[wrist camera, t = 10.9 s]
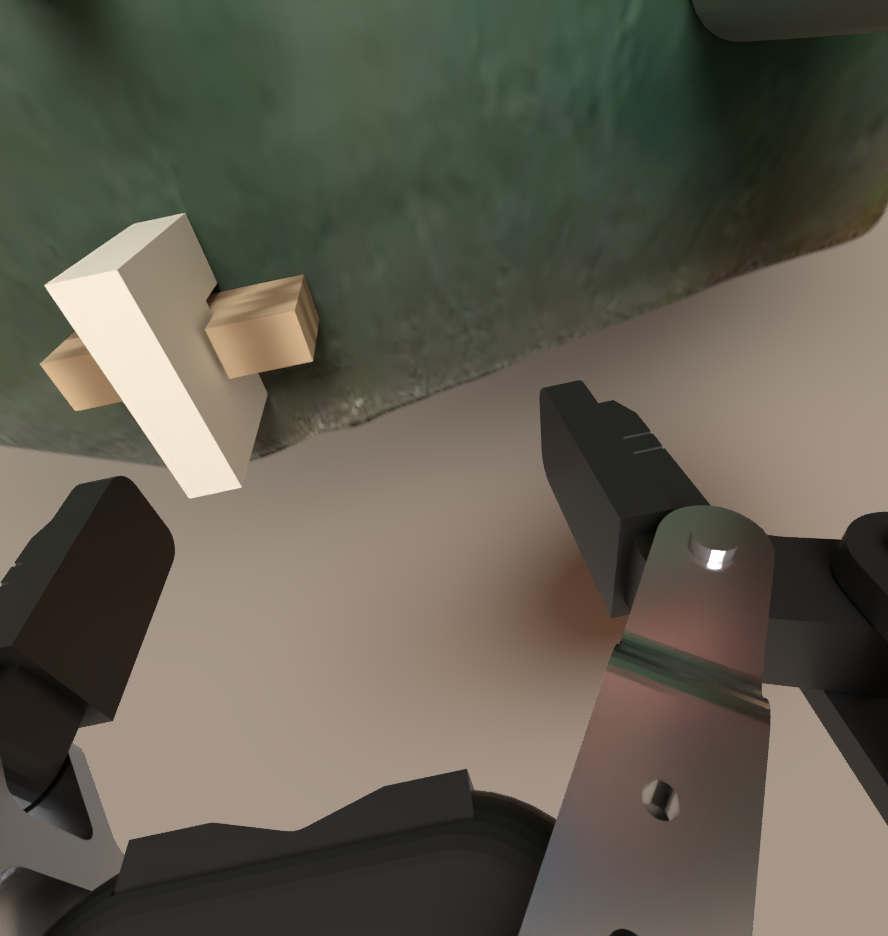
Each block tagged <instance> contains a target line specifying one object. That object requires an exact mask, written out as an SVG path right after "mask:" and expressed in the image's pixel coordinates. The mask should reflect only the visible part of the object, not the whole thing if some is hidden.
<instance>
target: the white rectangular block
mask: <svg viewBox="0 0 888 936" xmlns="http://www.w3.org/2000/svg"><path fill="white" fill-rule="evenodd" d="M216 284H217V281H216V279H215V277H214V275H213V272H212V270H211V268H210V266H209V264H208V261H207V259H206V257H205V255H204V253H203V250H202V248H201V246H200V244H199V242H198V239H197V237H196V235H195V233H194V231H193V228H192V226H191V224H190V222H189V220H188V217H187V215H186V213H182V214H177V215H173V216H168V217H163V218H159V219H154V220H149V221H145V222H140V223H135V224H132V225H131V226H130V227H128V228H127V229H125V230H124V231H122V232H121V233H119V234H118V235H116V236H115V237H114V238H112V239H111V240H109V241H108V242H106V243H105V244H103V245H102V246H100V247H99V248H98V249H96V250H95V251H93V252H92V253H90V254H89V255H87V256H86V257H85V258H83V259H82V260H80V261H79V262H77V263H76V264H74V265H73V266H71V267H70V268H69V269H67V270H66V271H64V272H63V273H61V274H60V275H58V276H57V277H56V278H54V279H53V280H51V281H50V282H48V283H47V284H45V285H44V286H45V287H46V289H47V290H48V292H49V293H50V295H51V296H52V298H53V299H54V301H55V302H56V304H57V305H58V306H59V308H60V309H61V311H62V312H63V314H64V315H65V317H66V318H67V320H68V321H69V323H70V324H71V326H72V327H73V329H74V330H75V331H76V333H77V334H78V336H79V337H80V339H81V340H82V342H83V343H84V345H85V346H86V348H87V349H88V351H89V352H90V354H91V355H92V356H93V358H94V359H95V361H96V362H97V364H98V365H99V367H100V368H101V370H102V371H103V373H104V374H105V376H106V377H107V379H108V380H109V381H110V383H111V384H112V386H113V387H114V389H115V390H116V392H117V393H118V395H119V396H120V398H121V399H122V401H123V402H124V404H125V405H126V406H127V408H128V409H129V411H130V412H131V414H132V415H133V417H134V418H135V420H136V421H137V423H138V424H139V426H140V427H141V429H142V430H143V431H144V433H145V434H146V436H147V437H148V439H149V440H150V442H151V443H152V445H153V446H154V448H155V449H156V451H157V452H158V454H159V455H160V456H161V458H162V459H163V461H164V462H165V464H166V465H167V467H168V468H169V470H170V471H171V472H172V474H173V475H174V477H175V479H176V480H177V481H178V483H179V484H180V486H181V487H182V489H183V490H184V492H185V493H186V494H187V496H188V498H189V499H190V498H195V497H199V496H204V495H209V494H213V493H218V492H223V491H227V490H232V489H236V488H241V487H242V485H243V482H244V478H245V474H246V471H247V467H248V464H249V460H250V456H251V453H252V449H253V446H254V442H255V438H256V435H257V431H258V428H259V424H260V420H261V417H262V413H263V409H264V406H265V402H266V399H267V395H268V393H267V391H266V389H265V387H264V385H263V382H262V380H261V378H260V376H259V374H258V373H255V374H250V375H246V376H241V377H236V378H231V379H229V377H228V375H227V373H226V371H225V369H224V367H223V365H222V363H221V361H220V359H219V357H218V355H217V353H216V351H215V349H214V347H213V345H212V343H211V341H210V339H209V337H208V335H207V333H206V331H205V328H206V326H207V325H208V323H209V321H210V320H211V318H212V316H213V315H212V312H211V310H210V308H209V306H208V304H207V302H206V300H207V298H208V296H209V295H210V293H211V292H212V290H213V289H214V287H215V286H216Z"/></svg>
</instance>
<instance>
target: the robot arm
mask: <svg viewBox="0 0 888 936" xmlns="http://www.w3.org/2000/svg"><path fill="white" fill-rule="evenodd" d="M692 3H693V6H694V9H695V12H696V14H697V15H698V17H699V18H700V20H701V22H702V23H703V25H704V26H705V27H706V28H707V29H708V30H709V31H710V32H712V33H713V34H714V35H715V36H717V37H720V38H722V39H724V40H727V41H736V42H748V41H762V40H776V39H795V38H808V37H822V36H835V35H848V34H862V33H875V32H888V0H692ZM540 419H541V420H540V421H541V445H542V458H543V464H544V469H545V472H546V476H547V479H548V481H549V484H550V486H551V488H552V490H553V493H554V495H555V497H556V499H557V501H558V503H559V506H560V508H561V510H562V512H563V515H564V517H565V519H566V521H567V523H568V526H569V528H570V530H571V532H572V534H573V536H574V539H575V540H576V543H577V545H578V547H579V550H580V552H581V554H582V556H583V558H584V560H585V562H586V565H587V567H588V569H589V571H590V573H591V576H592V578H593V580H594V582H595V585H596V586H597V589H598V591H599V593H600V595H601V597H602V600H603V602H604V604H605V606H606V608H607V611H608V613H609V615H610V617H611V618H614V617H619V616H623V615H628V614H630V616H629V618H628V622H627V625H626V628H625V631H624V634H623V637H622V640H621V642H620V644H616V646H615V648H614V650H613V652H612V654H611V657H610V660H609V662H608V666H607V668H606V671H605V674H604V677H603V680H602V683H601V686H600V689H599V693H598V695H597V698H596V702H595V704H594V708H593V711H592V714H591V717H590V720H589V723H588V726H587V729H586V732H585V735H584V738H583V741H582V744H581V747H580V750H579V753H578V756H577V759H576V762H575V765H574V768H573V771H572V774H571V778H570V780H569V784H568V787H567V789H566V792H565V795H564V799H563V802H562V805H561V808H560V811H559V814H558V817H557V820H556V819H555V818H553V817H551V816H550V815H548V814H546V813H545V812H543V811H541V810H540V809H538V808H536V807H534V806H532V805H530V804H527V803H525V802H523V801H520V800H518V799H516V798H513V797H509V796H505V795H501V794H497V793H494V792H486V791H477V790H474V788H473V785H472V782H471V779H470V776H469V773H468V771H467V769H464V770H459V771H455V772H450V773H445V774H440V775H435V776H431V777H426V778H421V779H417V780H412V781H407V782H402V783H398V784H393V785H388V786H384V787H382V788H380V789H378V790H376V791H374V792H372V793H370V794H368V795H366V796H365V797H363V798H361V799H359V800H357V801H355V802H353V803H351V804H349V805H347V806H345V807H344V808H342V809H340V810H338V811H336V812H334V813H332V814H330V815H328V816H326V817H324V818H322V819H321V820H319V821H317V822H315V823H313V824H311V825H309V826H307V827H305V828H303V829H300V830H297V831H279V830H271V829H263V828H254V827H245V826H236V825H229V824H220V823H208V824H203V825H199V826H194V827H189V828H184V829H179V830H175V831H170V832H165V833H161V834H156V835H151V836H146V837H142V838H137V839H132V840H129V843H128V846H127V849H126V853H125V855H124V854H123V853H122V851H121V850H120V849H119V847H118V846H117V844H116V842H115V840H114V838H113V835H112V832H111V830H110V827H109V824H108V821H107V818H106V815H105V812H104V809H103V807H102V804H101V801H100V798H99V795H98V792H97V789H96V786H95V783H94V780H93V778H92V775H91V772H90V769H89V766H88V764H87V760H86V758H85V755H84V752H83V751H82V749H81V748H80V747H79V746H78V745H76V744H74V743H73V740H74V737H75V735H76V732H77V730H78V728H81V727H86V726H91V725H96V724H100V723H105V722H110V721H113V719H114V716H115V714H116V711H117V708H118V706H119V703H120V701H121V698H122V695H123V692H124V690H125V687H126V685H127V682H128V679H129V677H130V674H131V671H132V669H133V666H134V664H135V661H136V658H137V655H138V653H139V650H140V648H141V645H142V642H143V640H144V637H145V634H146V632H147V629H148V626H149V624H150V621H151V619H152V616H153V613H154V611H155V608H156V605H157V603H158V600H159V598H160V595H161V592H162V590H163V587H164V584H165V581H166V579H167V576H168V574H169V571H170V568H171V566H172V563H173V560H174V555H175V547H174V546H175V545H174V540H173V537H172V534H171V532H170V530H169V529H168V527H167V526H166V525H165V524H164V522H163V521H162V519H160V517H159V516H158V514H157V513H156V511H155V510H154V509H153V507H152V506H151V505H150V503H149V502H148V501H147V499H146V498H145V497H144V495H143V494H142V493H141V492H140V490H139V489H138V488H137V486H136V485H135V484H134V483H133V481H131V480H130V479H129V478H127V477H125V476H116V477H111V478H107V479H102V480H97V481H92V482H88V483H83V484H79V485H77V486H76V487H75V488H74V489H73V490H72V491H71V493H70V494H69V496H68V497H67V499H66V500H65V501H64V503H63V504H62V506H61V507H60V509H59V510H58V512H57V513H56V515H55V516H54V518H53V519H52V520H51V521H50V522H49V523H48V524H47V525H46V526H45V527H44V528H43V529H41V530H40V531H39V532H38V533H37V534H36V535H35V536H34V537H33V538H31V540H30V541H29V543H28V544H27V546H26V547H25V548H24V550H23V551H22V553H21V554H20V555H19V557H18V558H17V560H16V561H15V564H16V566H15V567H11V568H10V570H9V571H8V573H7V574H6V576H5V577H4V578H3V580H2V581H1V583H2V586H1V587H0V936H752V931H753V920H754V907H755V896H756V886H757V874H758V863H759V862H758V861H759V852H760V839H761V829H762V828H761V827H762V817H763V806H764V795H765V782H766V771H767V760H768V749H769V738H770V718H771V717H770V705H769V701H768V700H767V699H766V698H763V696H762V683H766V684H774V685H783V686H792V687H799V688H800V689H801V691H802V693H803V694H804V696H805V697H806V699H807V700H808V702H809V704H810V705H811V707H812V708H813V710H814V711H815V713H816V714H817V716H818V718H819V719H820V721H821V722H822V724H823V725H824V727H825V729H826V730H827V732H828V733H829V735H830V736H831V738H832V739H833V741H834V743H835V744H836V746H837V747H838V749H839V750H840V752H841V753H842V755H843V757H844V758H845V760H846V761H847V763H848V764H849V766H850V768H851V769H852V771H853V772H854V773H855V775H856V777H857V779H858V780H859V782H860V783H861V785H862V786H863V788H864V789H865V791H866V792H867V794H868V796H869V797H870V799H871V800H872V802H873V803H874V805H875V806H876V808H877V809H878V811H879V813H880V814H881V816H882V818H883V819H884V821H885V822H886V824H887V825H888V512H877V513H871V514H866V515H864V516H861V517H859V518H857V519H856V520H854V521H853V522H852V523H851V524H850V525H849V526H848V528H847V530H846V532H845V534H844V535H843V537H842V540H837V539H816V538H796V537H780V536H772V535H767V534H766V533H765V532H764V530H763V529H762V528H761V527H759V526H758V525H757V524H756V523H755V522H753V521H751V520H750V519H749V518H747V517H745V516H743V515H741V514H739V513H737V512H734V511H732V510H728V509H725V508H721V507H715V506H711V505H710V504H709V503H708V502H707V500H706V499H705V498H704V497H703V495H702V494H701V493H700V492H699V490H698V489H697V488H696V487H695V486H694V484H693V483H692V482H691V480H690V479H689V478H688V477H687V476H686V474H685V473H684V472H683V470H682V469H681V468H680V467H679V466H678V464H677V463H676V462H675V461H674V459H673V458H672V457H671V456H670V454H669V453H668V452H667V451H666V449H662V445H661V443H660V442H659V441H658V439H657V438H656V437H655V436H654V434H651V433H650V430H649V428H648V427H647V426H646V424H645V423H644V422H643V421H642V419H641V418H640V417H639V416H638V415H637V413H635V412H634V411H632V410H630V409H628V408H627V407H625V406H623V405H621V404H619V403H617V402H616V401H614V400H612V401H607V402H602V403H598V402H597V401H596V399H595V398H594V397H593V395H592V394H591V392H590V391H589V390H588V388H587V387H586V386H585V384H584V383H583V382H582V381H580V380H579V381H574V382H569V383H564V384H559V385H555V386H550V387H545V388H542V389H541V391H540Z"/></svg>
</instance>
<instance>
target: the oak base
mask: <svg viewBox="0 0 888 936" xmlns="http://www.w3.org/2000/svg"><path fill="white" fill-rule="evenodd" d="M206 302H207V304H208V306H209V308H210V310H211V312H212V315H213V316H212V318H211V320H210V321H209V323H208V325H207V326H206V328H205V331H206V333H207V335H208V337H209V339H210V341H211V343H212V345H213V347H214V349H215V351H216V353H217V355H218V357H219V359H220V361H221V363H222V365H223V367H224V369H225V371H226V373H227V375H228V377H229V379H231V378H236V377H241V376H246V375H250V374H255V373H260V372H265V371H269V370H274V369H279V368H284V367H288V366H293V365H298V364H303V363H308V362H312V361H313V358H314V352H315V345H316V339H317V332H318V326H319V317H318V314H317V312H316V309H315V306H314V303H313V300H312V297H311V294H310V291H309V288H308V285H307V282H306V279H305V276H304V274H303V275H299V276H294V277H289V278H284V279H280V280H275V281H270V282H265V283H260V284H256V285H251V286H246V287H241V288H237V289H232V290H227V291H222V292H217V293H213V294H210V295H209V296H208V298H207V300H206ZM40 365H41V367H42V368H43V369H44V370H45V372H46V373H47V374H48V376H49V377H50V378H51V380H52V381H53V382H54V384H55V385H56V386H57V388H58V389H59V390H60V392H61V393H62V394H63V396H64V397H65V398H66V400H67V401H68V402H69V403H70V405H71V406H72V407H73V409H74V410H75V411H79V410H84V409H89V408H93V407H98V406H103V405H108V404H113V403H117V402H122V399H121V398H120V396H119V395H118V393H117V392H116V390H115V389H114V387H113V386H112V384H111V383H110V381H109V380H108V379H107V377H106V376H105V374H104V373H103V371H102V370H101V368H100V367H99V365H98V364H97V362H96V361H95V359H94V358H93V356H92V355H91V354H90V352H89V351H88V349H87V348H86V346H85V345H84V343H83V342H82V340H81V339H80V337H79V336H78V334H77V333H76V331H75V332H74V333H73V334H72V335H71V336H69V337H68V338H67V339H66V340H65V341H64V342H63V343H62V344H61V345H60V346H59V347H58V348H56V349H55V350H54V351H53V352H52V353H51V354H50V355H49V356H48V357H47V358H46V359H45V360H44V361H42V362H41V363H40Z"/></svg>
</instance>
